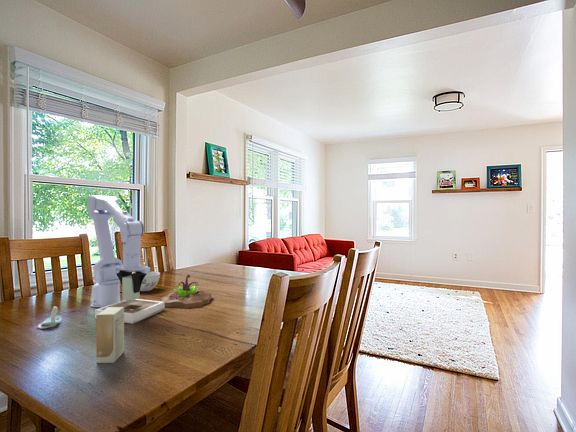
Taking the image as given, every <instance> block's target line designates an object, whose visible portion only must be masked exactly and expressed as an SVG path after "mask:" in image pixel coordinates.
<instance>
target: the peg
mask: <svg viewBox="0 0 576 432" xmlns="http://www.w3.org/2000/svg"><path fill="white" fill-rule="evenodd" d="M121 287H122V289H121V290H122V293H121V295H122V297H121V299H122V300H121V301H123V300H129V301H132V300H135V299H141V297H140V292H141V291H140V292H137V293H134V290H133V280H132V277H131V275H130V276H126V277H122V284H121Z"/></svg>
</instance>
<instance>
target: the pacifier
mask: <svg viewBox="0 0 576 432" xmlns="http://www.w3.org/2000/svg"><path fill="white" fill-rule="evenodd" d="M58 310H59V309H58V307H57V306H55V305H54V306H53V308H52V309H51V312H50V317H47V318H45V320H43V321H42V322H41V323H39V324H38V325H37V328H38V329H41V330H42V329H48V328H53V327H56V326H57V325H58V324H60V322H61V321H63V318H62V316H61V315H58Z"/></svg>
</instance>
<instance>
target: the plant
mask: <svg viewBox="0 0 576 432" xmlns="http://www.w3.org/2000/svg"><path fill="white" fill-rule="evenodd" d="M191 277H192V276H191V274H186V277H185V282H184V281H182V280H181V281H179V282H178V283H177V284H176V287H177V289H175V288H173V292H170V293H168V294H167V295H165V296H162V297H160V298H159V301H161V302H165V306H164V308H168V309H169V308H170V309H171V308H178V309H179V308H180V309H195V308H201V307H203V306H204V305H205V306H206V305H208V304H210V301H211V300H212V293H211V292H208V291H205V290H199V288H200V287H199V288H196V287H198V286H199V282H198V281H191V282H189V280H188V279H190V278H191ZM181 284H182V286H181ZM193 284H195V285H193ZM191 285H192V286H191Z"/></svg>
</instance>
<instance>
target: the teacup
mask: <svg viewBox="0 0 576 432" xmlns="http://www.w3.org/2000/svg"><path fill="white" fill-rule="evenodd" d="M133 273H134V272H132V274H133ZM160 277H161V272H158V271H150V273H147V274H146V276H145V278H144V279H143V282H142V284H141V288H140V292H149V291H152V290H153V289H154V288H155V287H156V286H157V284H158V283H159V280H160Z"/></svg>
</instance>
